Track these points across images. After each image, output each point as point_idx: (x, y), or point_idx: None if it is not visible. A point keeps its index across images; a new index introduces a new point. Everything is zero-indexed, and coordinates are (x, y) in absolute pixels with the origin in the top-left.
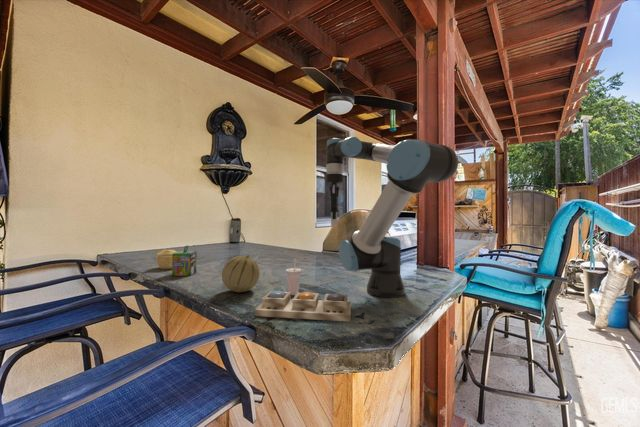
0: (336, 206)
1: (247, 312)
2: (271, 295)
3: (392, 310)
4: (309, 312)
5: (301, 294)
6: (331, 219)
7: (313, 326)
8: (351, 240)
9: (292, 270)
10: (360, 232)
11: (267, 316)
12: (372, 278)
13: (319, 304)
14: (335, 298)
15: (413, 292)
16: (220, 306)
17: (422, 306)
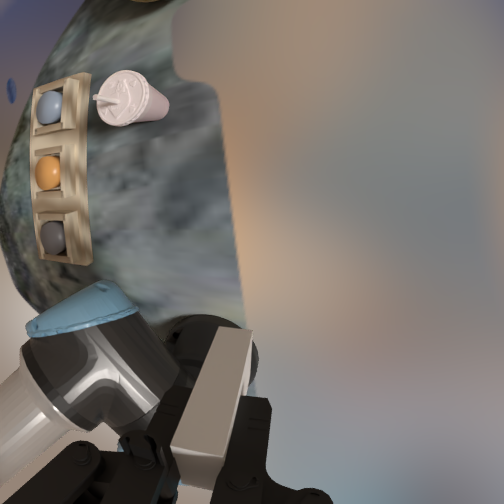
0: (74, 502)
1: (53, 68)
2: (39, 102)
3: None
4: (31, 188)
5: (43, 163)
6: (200, 374)
7: (24, 198)
8: (27, 345)
9: (110, 97)
10: (8, 380)
11: None
12: (179, 346)
13: (60, 200)
14: (40, 238)
15: None
16: (80, 7)
17: None
